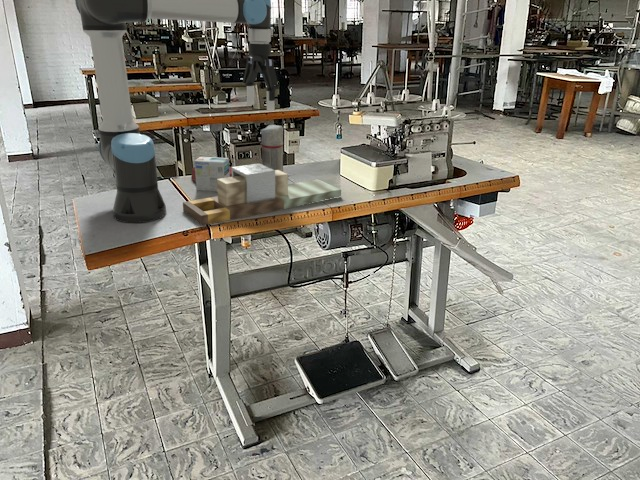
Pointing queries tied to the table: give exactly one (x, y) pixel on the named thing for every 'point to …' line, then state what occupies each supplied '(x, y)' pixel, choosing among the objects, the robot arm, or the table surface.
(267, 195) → the matte grey cube
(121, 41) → the robot arm
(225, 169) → the light bulb box
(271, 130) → the spray can
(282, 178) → the maple beam
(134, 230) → the table surface
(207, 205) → the deck
